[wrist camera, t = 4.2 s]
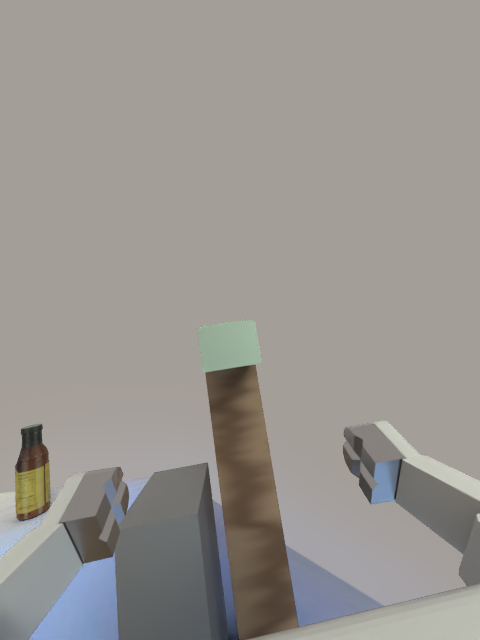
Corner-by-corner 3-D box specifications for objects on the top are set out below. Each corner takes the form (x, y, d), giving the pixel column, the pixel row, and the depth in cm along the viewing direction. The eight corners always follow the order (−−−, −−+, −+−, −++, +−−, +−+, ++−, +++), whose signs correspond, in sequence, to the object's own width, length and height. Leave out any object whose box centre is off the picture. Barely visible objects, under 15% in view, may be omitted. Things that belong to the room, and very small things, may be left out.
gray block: (228, 632, 25) (207, 462, 28) (229, 807, 15) (197, 513, 18) (168, 647, 24) (154, 472, 27) (128, 838, 14) (113, 530, 17)
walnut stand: (285, 599, 27) (248, 365, 32) (309, 692, 19) (255, 364, 24) (241, 610, 27) (210, 371, 32) (247, 710, 19) (205, 372, 24)
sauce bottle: (35, 507, 60) (35, 423, 64) (57, 505, 60) (56, 420, 63) (6, 524, 54) (8, 430, 58) (30, 522, 53) (31, 427, 57)
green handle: (248, 365, 32) (242, 328, 33) (269, 362, 16) (256, 291, 17) (210, 371, 32) (205, 334, 33) (195, 373, 16) (186, 301, 17)
